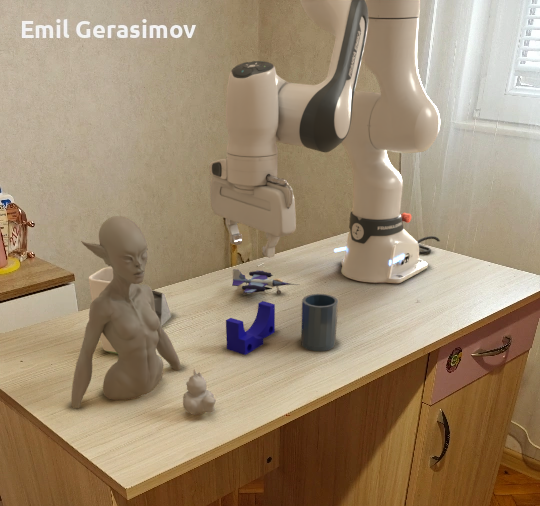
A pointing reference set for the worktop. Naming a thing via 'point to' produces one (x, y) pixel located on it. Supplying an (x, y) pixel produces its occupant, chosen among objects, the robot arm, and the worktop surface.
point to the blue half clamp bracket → (251, 330)
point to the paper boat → (161, 307)
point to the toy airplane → (257, 281)
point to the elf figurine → (124, 319)
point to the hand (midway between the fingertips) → (252, 249)
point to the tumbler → (319, 322)
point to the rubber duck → (198, 396)
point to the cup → (97, 285)
